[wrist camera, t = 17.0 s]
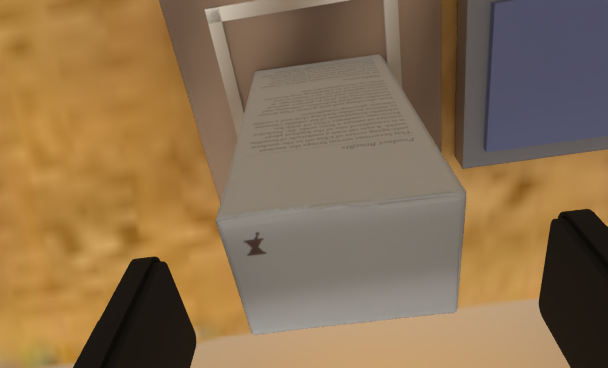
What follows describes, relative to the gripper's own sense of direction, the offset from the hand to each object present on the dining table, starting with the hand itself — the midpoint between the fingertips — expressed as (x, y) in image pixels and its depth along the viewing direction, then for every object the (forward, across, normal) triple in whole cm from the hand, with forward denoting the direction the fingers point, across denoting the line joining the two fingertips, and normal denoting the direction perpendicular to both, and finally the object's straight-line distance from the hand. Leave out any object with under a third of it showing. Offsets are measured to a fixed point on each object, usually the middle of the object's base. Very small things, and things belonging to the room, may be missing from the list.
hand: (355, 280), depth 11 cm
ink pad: (+14, -11, 0) cm, 17 cm away
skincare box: (+12, +1, 0) cm, 13 cm away
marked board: (+13, +1, 0) cm, 13 cm away
